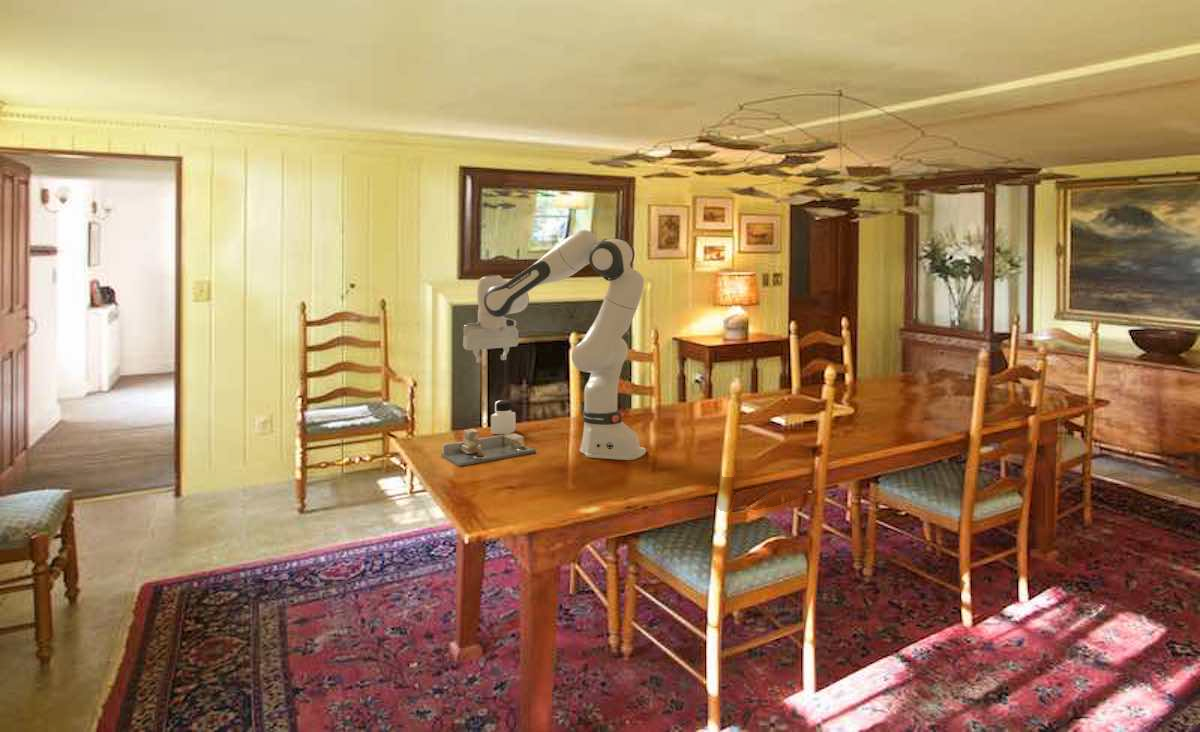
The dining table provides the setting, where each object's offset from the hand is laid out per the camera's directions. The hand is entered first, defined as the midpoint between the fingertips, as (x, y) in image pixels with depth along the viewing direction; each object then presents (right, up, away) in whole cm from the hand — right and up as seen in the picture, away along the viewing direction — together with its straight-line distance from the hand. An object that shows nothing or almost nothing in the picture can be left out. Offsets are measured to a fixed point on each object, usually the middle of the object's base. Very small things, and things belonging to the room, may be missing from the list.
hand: (491, 361), depth 262 cm
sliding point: (-4, -31, -15) cm, 34 cm away
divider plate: (+1, -31, -12) cm, 34 cm away
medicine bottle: (+2, -27, +18) cm, 32 cm away
